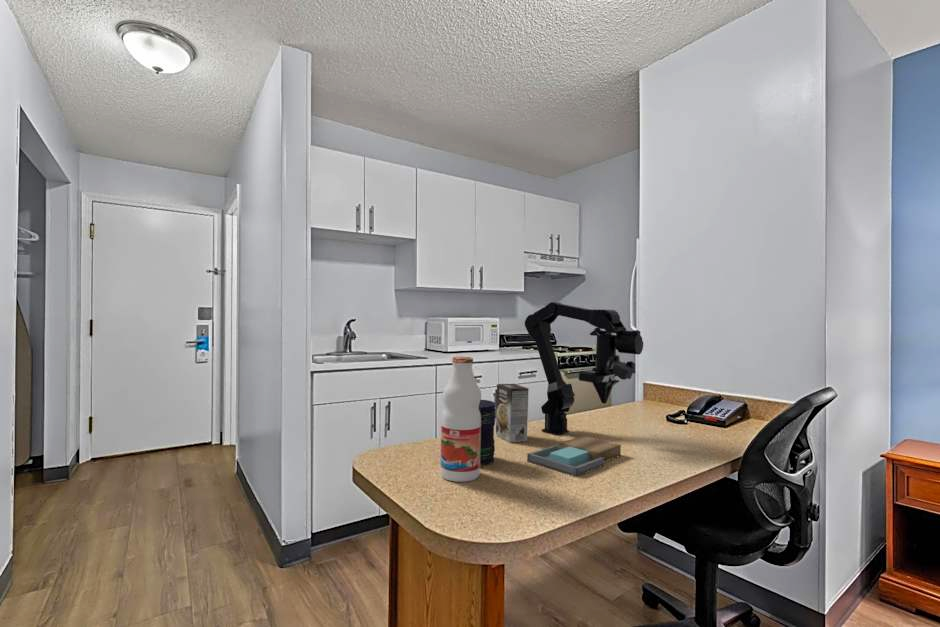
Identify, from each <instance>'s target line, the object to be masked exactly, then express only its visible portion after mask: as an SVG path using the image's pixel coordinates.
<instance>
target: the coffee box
mask: <svg viewBox="0 0 940 627" xmlns="http://www.w3.org/2000/svg"><path fill="white" fill-rule="evenodd" d="M529 390H530V389H529V387H525V386H523V385H519V384H516V383H496V405H495V407H496V408H495V436H496V435H497V436H496V437H498V436H499V437H498V438H500V439H501V440H504V441H505V440H506V442H507V441H508V442H507V443H509V444H513V443H521V441H522V442H527V441H528V420H529V419H528V418H529V417H528V414H529ZM512 442H513V443H512Z"/></svg>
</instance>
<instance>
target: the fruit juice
mask: <svg viewBox="0 0 940 627" xmlns="http://www.w3.org/2000/svg"><path fill="white" fill-rule="evenodd" d="M451 362H452V366H453V367H452V371H451V373H450V376H449V379H448V382H447V383H446V385H445V386H444V389H443V391H442V402H443V404H444V407H443V411H442V412H441V422H440V423H441V424H440V425H441V426H440V429H441V431H440V432H441V433H440V469H439V470H440V475H441V477H442V479H445V480H447V481H449V482H450V481H451V482H455V483H456V482H457V483H467V482H472V481H475V480H476V479H478V478H479V477H480V473H481V466H480V451H481V413H480V411H479V404H480V401H481V400H482V391H481V389H480V387H479V385H478V383H477V381H476V377H475V375H474V372H473V368H472V367H473V363H474V358H473V357H471V356H454V357H452V359H451Z"/></svg>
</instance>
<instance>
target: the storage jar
mask: <svg viewBox="0 0 940 627" xmlns="http://www.w3.org/2000/svg"><path fill="white" fill-rule="evenodd" d="M495 407H496V402H494V401H492V400H488V399H481V401H480V404H479V411H480V413H481V451H480V465H485V466H489V465H491V463H492V464H493V463H494V462H495V457H494V456H495V451H496V450H495V449H496V447H495V438H494V437H495V426H496V408H495ZM488 464H489V465H488Z"/></svg>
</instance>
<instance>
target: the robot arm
mask: <svg viewBox="0 0 940 627" xmlns="http://www.w3.org/2000/svg"><path fill="white" fill-rule="evenodd" d="M558 317H565V318H570V319H575V320H579V321H583V322H586V323H588V324H589V325H591V326H594V327H595V328H594V329H593V331H591V332H589V335H590V336H593V337H596V348H595V353H593V355H592V358H593V359H595V367H592V370H591V369H590V370H589V369H587V370H581V371H580V372H579V373H578V381H582V382H587V383H592V385H593V387H594V388H595V390H596V393H597V395H598V398H599V399H600V402H601V404H604V405H605V404H607V402H608V400H609V398H610V395H611V391H612V389H613V387H614V386H615V385H616V384H618V383H619V382H620V380H618V379H616V377H618V378H619V379H621V380H623V381H625V380H627V379H628V380H631V379H632V376H633V374H636V372H637V371H636V363H635V362H633V361H631V360H629V361H627V362H625V361H624V362H623V361H620V355H619V354H617V351H618V353H620V354H630V355H641V354H642V351H643V349H644V340H643V337H642V335H641V330H627V328H626V326H625V325H624V323H623V322H622V321H621V317H620V313H618V311H617V310H614V309H590V308H586V307H580V306H575V305H571V304H570V305H569V304H565V303H562V302H560V301H559V302H557V301H556V302H555V301H552V302H549V303H547V305H545V306H544V307H542V308H540V309H538V310H536V311H535V312H533V313H532V314H528V316H527V317H526V318H525V320H524V327H525V329H526V331H527V333H528V336H530V338H531V339H532V340H533V341H534V342H535V345H536V348H537V351H538V355H539V359H540V361H541V365H542V368H543V371H544V374H545V378H546V380H547V381H546V382H547V391H546V395H547V397H546V398H547V401H546V402H545V403H543V404H542V405H541V407H540V409H541V411H542V414H544V428H542V429H541V431H542V432H545V433H549V434H553V435H558V436H559V435H562V434H566V433H569V431H570V430H569V429H568V418H567V413H569V412H570V409H571V407H572V406H573V405H574V403H575V396H576V394H575V393H574V390H573V386H572V384H571V383H566V382H565V381H564V379H563V376H562V373H561V369H560V367H559V364H558V361H557V357H556V354H555V351H554V348H553V345H552V341H551V332H552V327H551V324H553V323H554V322H555V321H556V319H557V318H558Z"/></svg>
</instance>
